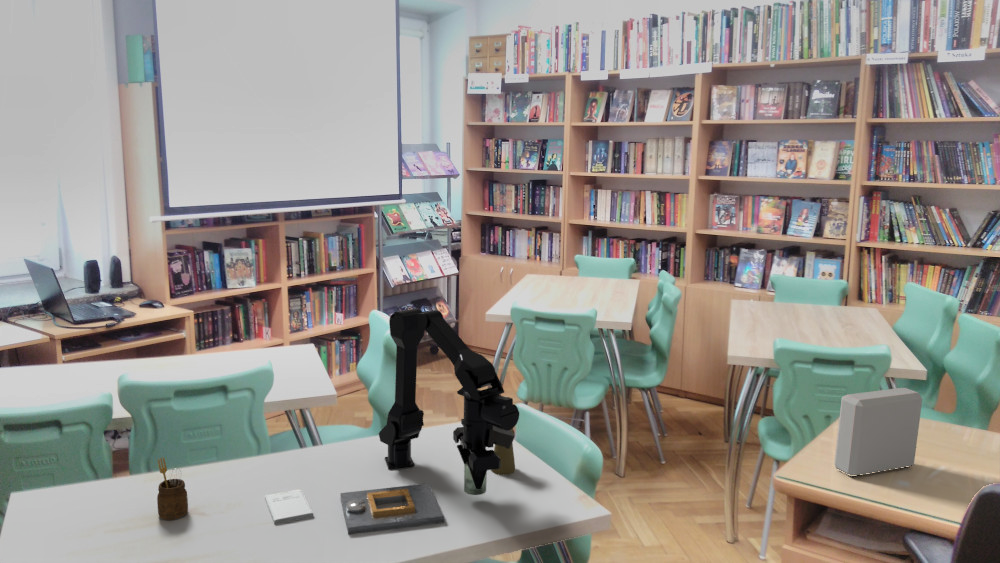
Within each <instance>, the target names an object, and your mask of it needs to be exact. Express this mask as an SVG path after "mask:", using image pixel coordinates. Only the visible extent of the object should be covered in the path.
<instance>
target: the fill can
mask: <svg viewBox="0 0 1000 563" xmlns="http://www.w3.org/2000/svg"><path fill="white" fill-rule="evenodd" d="M463 465H464V464H463ZM463 468H464V470H463V472H464V473H463V474H464V475H463V476H464V477H463V491H464V492H465V493H466V494H467V495H470V496H479V495H483V494H485V493H486V492H487V481H488V480H487V479H488V478H487V474H488V473H486V475H485V478H484V481H483V484H482V487H481V489H476V487H475V485H474V482H473V479H472V476H471V473H470V471H469V468H468V465H467V462H466V463H465V465H464V467H463Z"/></svg>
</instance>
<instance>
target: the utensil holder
mask: <svg viewBox="0 0 1000 563" xmlns="http://www.w3.org/2000/svg"><path fill="white" fill-rule="evenodd" d="M157 464H158V469H159V473H160V474H162V475H163V479H164V480H163V481H162V482H160V483H159V484H158V493H157V498H156V502H157V504H156V505H157V512H158V517H159V518H160V519H161V520H165V521H175V520H178V519H181V518H183V517H184V516H186V515H187V513H188V512H189V511H188V510H189V501H188V500H189V499H188V498H189V497H188V491H187V489H186V483H185V481H184V480H183V479H182V478H171V476H169V479H167V476H166V473H167V471H168V468H167V464H166V460H165V457H164V456H162V457H160V458H157ZM178 470H179V471H180V472H179V473H180V477H182V470H180V468H179V467H178V468H177V467H176V468H175V467H174V468H173V469H171V470H170V472H169V473H170V475H173V472H174V471H175V472H174V473H175V476H177V475H178V474H177V471H178Z"/></svg>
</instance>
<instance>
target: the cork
mask: <svg viewBox="0 0 1000 563" xmlns="http://www.w3.org/2000/svg"><path fill="white" fill-rule="evenodd" d="M511 431H512V433H513V434H514V435H515V436H516V434H515V433H516V432H515V429H514V428H513V429H511ZM513 445H514V444H513V442H512V445H511V448H510V449H507V448H505V447H503V446H499V445H495V444H494V447H493V448H494V449H493V451H494V452H495V453H497V455H498V456H499V458H500V459H501V468H499V469H493V470H490V471H491V472H492V473H493V474H495V475H498V474H499V476H508V475H512V474H514V473H515V472H516V463H515V462H516V461H515V453H514V446H513Z"/></svg>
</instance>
